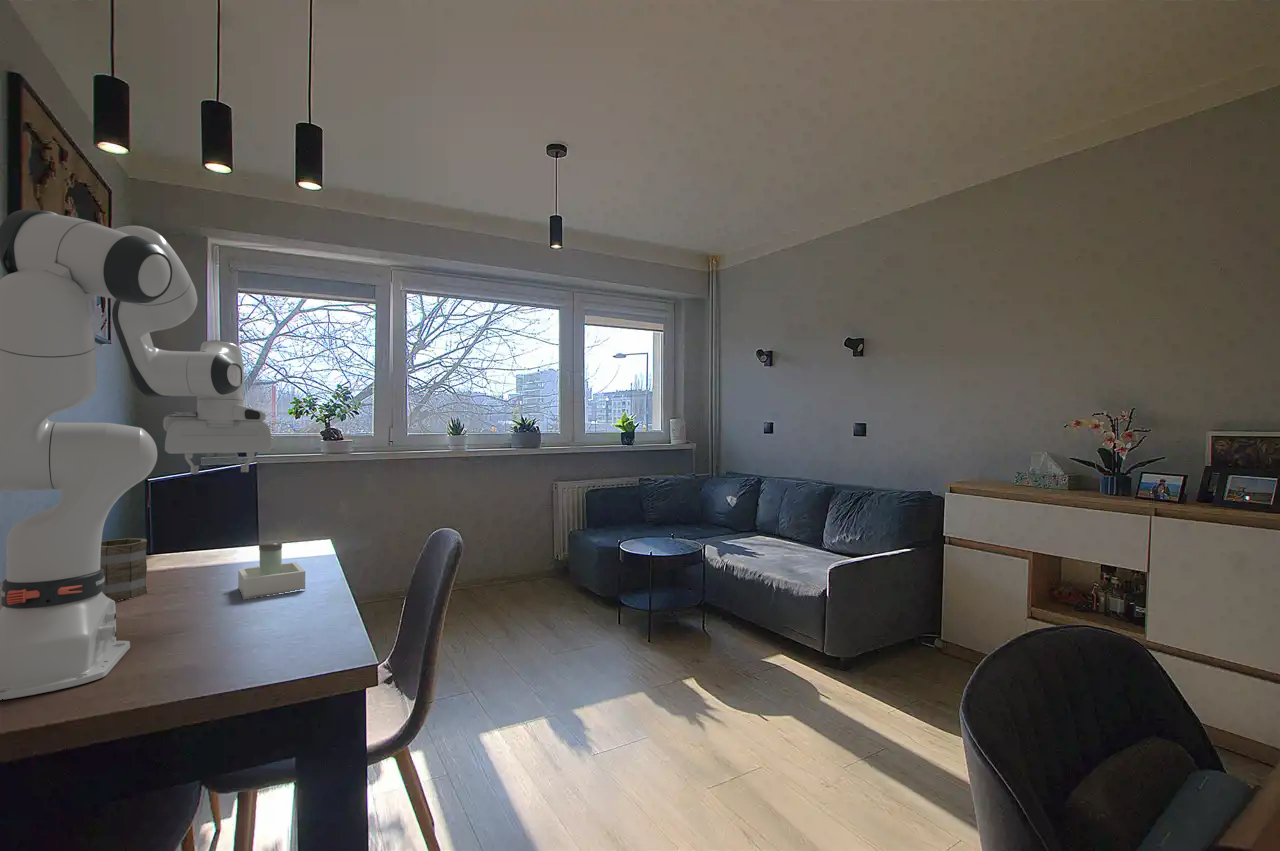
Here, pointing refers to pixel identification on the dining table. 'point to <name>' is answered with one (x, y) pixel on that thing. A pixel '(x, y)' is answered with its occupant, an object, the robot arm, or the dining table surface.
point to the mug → (124, 567)
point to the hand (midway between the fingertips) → (220, 472)
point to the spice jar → (270, 558)
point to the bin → (270, 581)
